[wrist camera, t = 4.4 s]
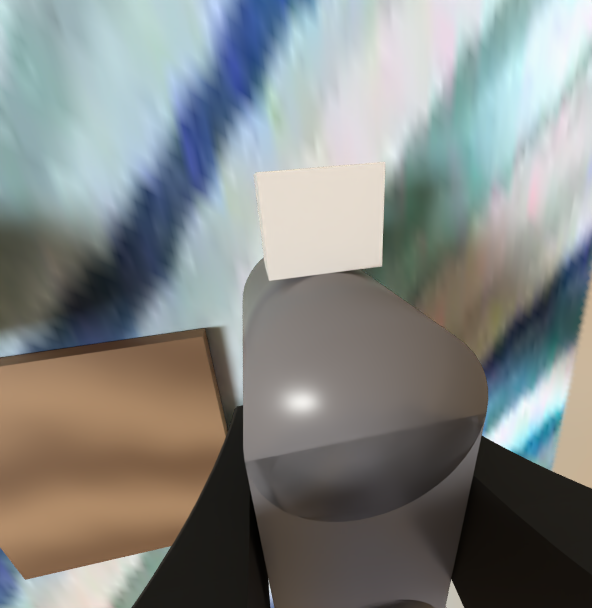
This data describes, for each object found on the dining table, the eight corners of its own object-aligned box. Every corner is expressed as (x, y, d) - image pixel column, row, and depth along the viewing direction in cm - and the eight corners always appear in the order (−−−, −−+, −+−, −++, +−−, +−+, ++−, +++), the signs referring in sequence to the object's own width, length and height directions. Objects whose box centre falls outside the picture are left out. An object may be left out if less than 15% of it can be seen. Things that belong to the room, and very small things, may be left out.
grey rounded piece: (357, 472, 14) (433, 661, 8) (272, 491, 13) (294, 704, 8) (357, 168, 9) (544, 141, 3) (222, 180, 8) (184, 169, 3)
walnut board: (246, 514, 18) (246, 528, 18) (34, 562, 17) (25, 579, 16) (204, 328, 13) (202, 336, 13) (-102, 372, 12) (-125, 384, 11)
